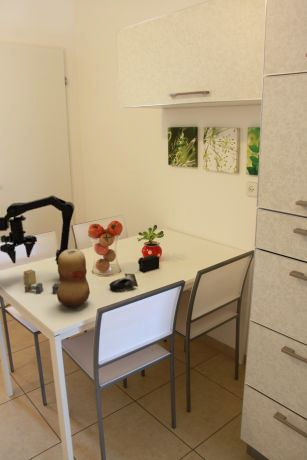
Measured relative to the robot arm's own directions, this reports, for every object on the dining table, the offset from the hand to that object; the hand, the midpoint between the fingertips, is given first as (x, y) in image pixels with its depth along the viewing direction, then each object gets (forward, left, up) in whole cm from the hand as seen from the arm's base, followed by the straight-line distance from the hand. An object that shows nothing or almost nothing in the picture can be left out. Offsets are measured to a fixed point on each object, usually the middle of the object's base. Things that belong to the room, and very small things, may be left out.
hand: (21, 260), depth 191 cm
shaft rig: (-15, +13, -12) cm, 23 cm away
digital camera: (-63, -13, -12) cm, 65 cm away
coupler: (-4, +2, -12) cm, 13 cm away
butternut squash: (-30, +28, -12) cm, 42 cm away
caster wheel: (-50, +12, -12) cm, 53 cm away
